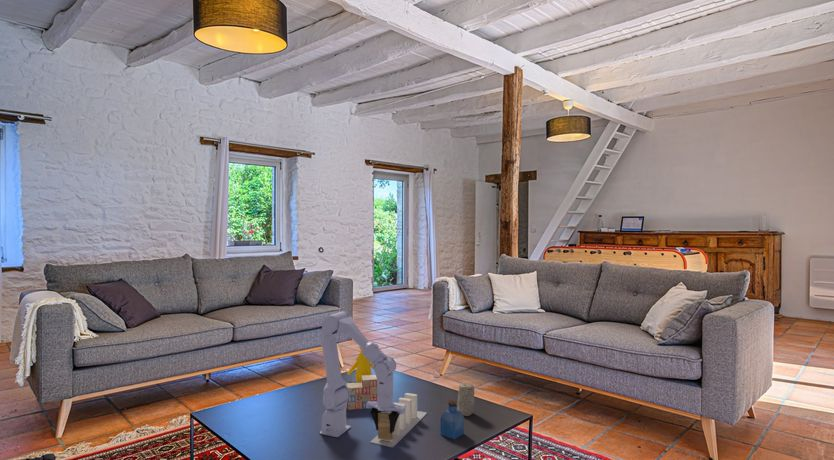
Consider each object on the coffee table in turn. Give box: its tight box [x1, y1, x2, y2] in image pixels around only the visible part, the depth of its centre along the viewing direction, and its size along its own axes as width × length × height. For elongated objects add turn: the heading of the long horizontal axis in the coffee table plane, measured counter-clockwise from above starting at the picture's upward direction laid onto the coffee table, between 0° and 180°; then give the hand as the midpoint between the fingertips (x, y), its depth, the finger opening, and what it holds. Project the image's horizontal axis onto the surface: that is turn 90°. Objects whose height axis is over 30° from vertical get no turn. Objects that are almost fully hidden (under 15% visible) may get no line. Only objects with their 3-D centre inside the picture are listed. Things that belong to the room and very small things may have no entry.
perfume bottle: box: [439, 400, 465, 440], centre depth 176 cm, size 6×6×12 cm
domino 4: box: [403, 392, 418, 419], centre depth 191 cm, size 2×5×9 cm, turn 67°
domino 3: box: [398, 397, 412, 424], centre depth 186 cm, size 2×5×9 cm, turn 67°
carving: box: [456, 382, 475, 417], centre depth 195 cm, size 6×8×12 cm
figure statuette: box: [346, 345, 375, 383], centre depth 233 cm, size 18×8×22 cm, turn 85°
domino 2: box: [393, 401, 406, 430], centre depth 181 cm, size 2×5×9 cm, turn 67°
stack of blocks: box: [346, 374, 377, 411], centre depth 203 cm, size 21×6×12 cm, turn 99°
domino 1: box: [385, 411, 400, 436], centre depth 176 cm, size 2×5×9 cm, turn 67°
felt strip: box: [369, 410, 428, 448], centre depth 182 cm, size 32×9×1 cm, turn 157°
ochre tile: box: [377, 411, 392, 441], centre depth 170 cm, size 2×5×9 cm, turn 66°
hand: (385, 430), depth 170 cm, fingers closed on ochre tile, 5 cm apart
